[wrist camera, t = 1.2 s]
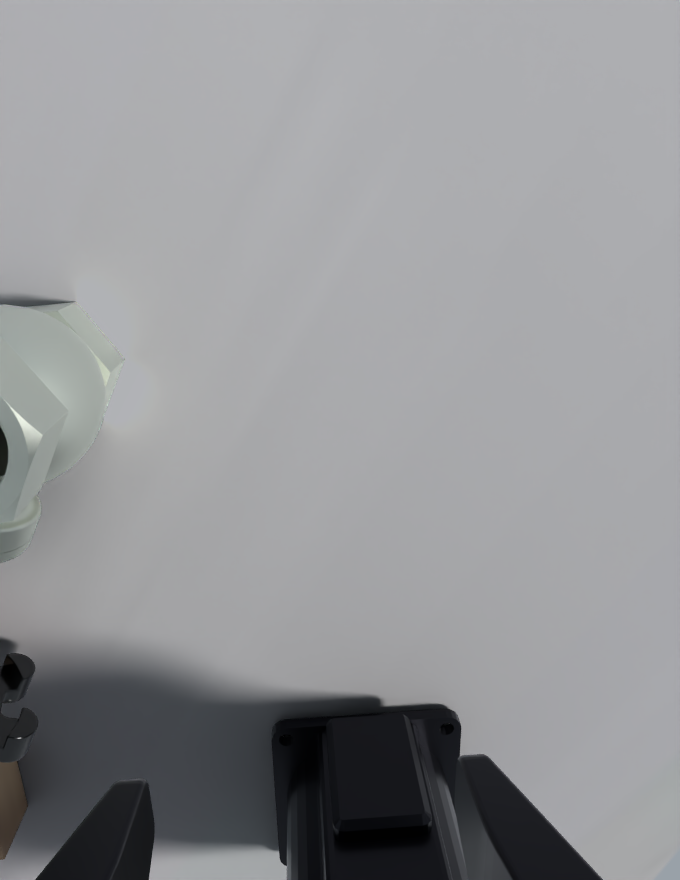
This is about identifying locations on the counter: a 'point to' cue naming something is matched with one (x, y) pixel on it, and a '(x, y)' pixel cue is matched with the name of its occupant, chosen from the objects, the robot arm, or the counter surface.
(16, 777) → the hinge jig
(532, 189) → the counter surface
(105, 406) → the valve
